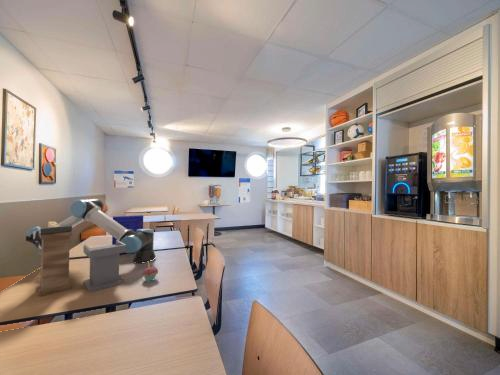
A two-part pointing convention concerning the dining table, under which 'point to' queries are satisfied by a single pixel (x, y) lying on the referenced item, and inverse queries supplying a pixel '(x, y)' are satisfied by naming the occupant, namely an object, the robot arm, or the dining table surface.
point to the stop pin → (55, 228)
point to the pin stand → (54, 263)
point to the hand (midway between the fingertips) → (50, 231)
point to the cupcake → (150, 273)
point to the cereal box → (129, 223)
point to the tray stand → (104, 266)
